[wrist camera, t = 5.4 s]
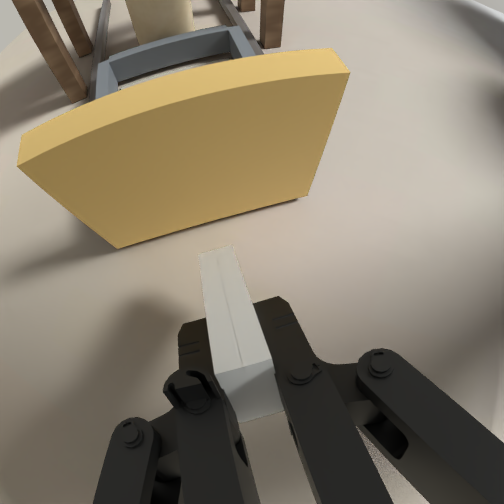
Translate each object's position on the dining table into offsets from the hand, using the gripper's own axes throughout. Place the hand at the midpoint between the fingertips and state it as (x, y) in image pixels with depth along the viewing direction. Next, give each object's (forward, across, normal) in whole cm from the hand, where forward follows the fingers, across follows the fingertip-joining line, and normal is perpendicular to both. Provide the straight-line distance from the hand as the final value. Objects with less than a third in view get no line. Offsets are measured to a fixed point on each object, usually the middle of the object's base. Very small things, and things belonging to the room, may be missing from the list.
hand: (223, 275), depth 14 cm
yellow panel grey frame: (+11, 0, +6) cm, 13 cm away
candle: (+20, 0, +14) cm, 25 cm away
